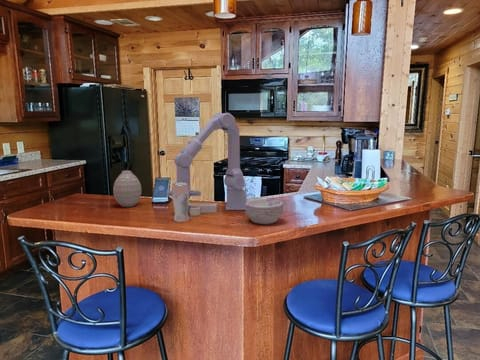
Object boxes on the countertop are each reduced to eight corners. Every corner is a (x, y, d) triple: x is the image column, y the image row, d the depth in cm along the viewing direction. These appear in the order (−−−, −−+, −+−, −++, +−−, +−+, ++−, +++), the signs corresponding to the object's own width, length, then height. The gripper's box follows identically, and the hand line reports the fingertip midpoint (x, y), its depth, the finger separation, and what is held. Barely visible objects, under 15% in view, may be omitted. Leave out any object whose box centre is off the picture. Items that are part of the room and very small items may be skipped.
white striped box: (217, 209, 169) (217, 202, 169) (216, 212, 163) (216, 205, 163) (188, 209, 169) (188, 202, 169) (186, 212, 163) (186, 205, 163)
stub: (200, 212, 163) (200, 205, 162) (199, 215, 158) (199, 208, 158) (191, 212, 163) (191, 205, 162) (190, 215, 158) (189, 208, 157)
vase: (143, 207, 174) (142, 172, 171) (114, 209, 169) (113, 173, 166) (140, 201, 185) (138, 168, 183) (113, 203, 181) (111, 169, 178)
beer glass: (182, 216, 156) (181, 181, 154) (193, 219, 152) (192, 183, 149) (169, 220, 151) (168, 184, 148) (180, 223, 146) (179, 185, 144)
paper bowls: (237, 221, 150) (237, 202, 148) (262, 214, 160) (262, 196, 159) (265, 229, 139) (266, 208, 138) (290, 221, 149) (291, 202, 148)
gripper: (201, 179, 162) (201, 209, 164) (168, 179, 162) (169, 209, 164) (199, 182, 155) (200, 213, 157) (165, 182, 155) (166, 213, 157)
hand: (184, 212), depth 160 cm, fingers closed
